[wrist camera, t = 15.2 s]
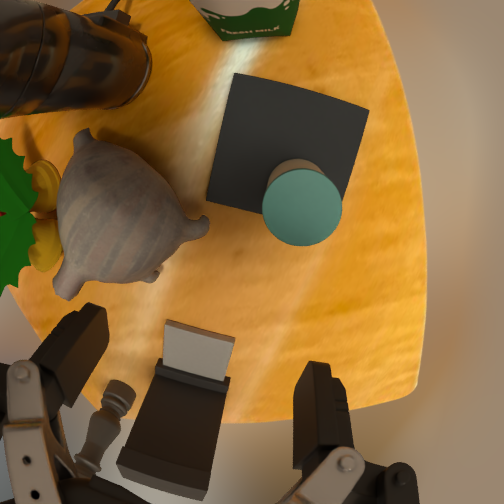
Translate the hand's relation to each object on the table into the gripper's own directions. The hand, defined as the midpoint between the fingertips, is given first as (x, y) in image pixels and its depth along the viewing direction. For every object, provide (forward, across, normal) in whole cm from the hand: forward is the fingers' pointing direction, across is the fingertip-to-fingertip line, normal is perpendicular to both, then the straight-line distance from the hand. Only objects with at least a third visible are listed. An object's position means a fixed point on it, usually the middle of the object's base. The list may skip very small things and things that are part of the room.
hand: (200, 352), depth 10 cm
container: (+22, -4, -2) cm, 23 cm away
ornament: (+23, +30, +4) cm, 38 cm away
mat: (+23, -2, -5) cm, 24 cm away
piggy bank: (+23, +15, +5) cm, 28 cm away
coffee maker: (+23, +3, +28) cm, 36 cm away
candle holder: (+23, +17, +44) cm, 52 cm away
